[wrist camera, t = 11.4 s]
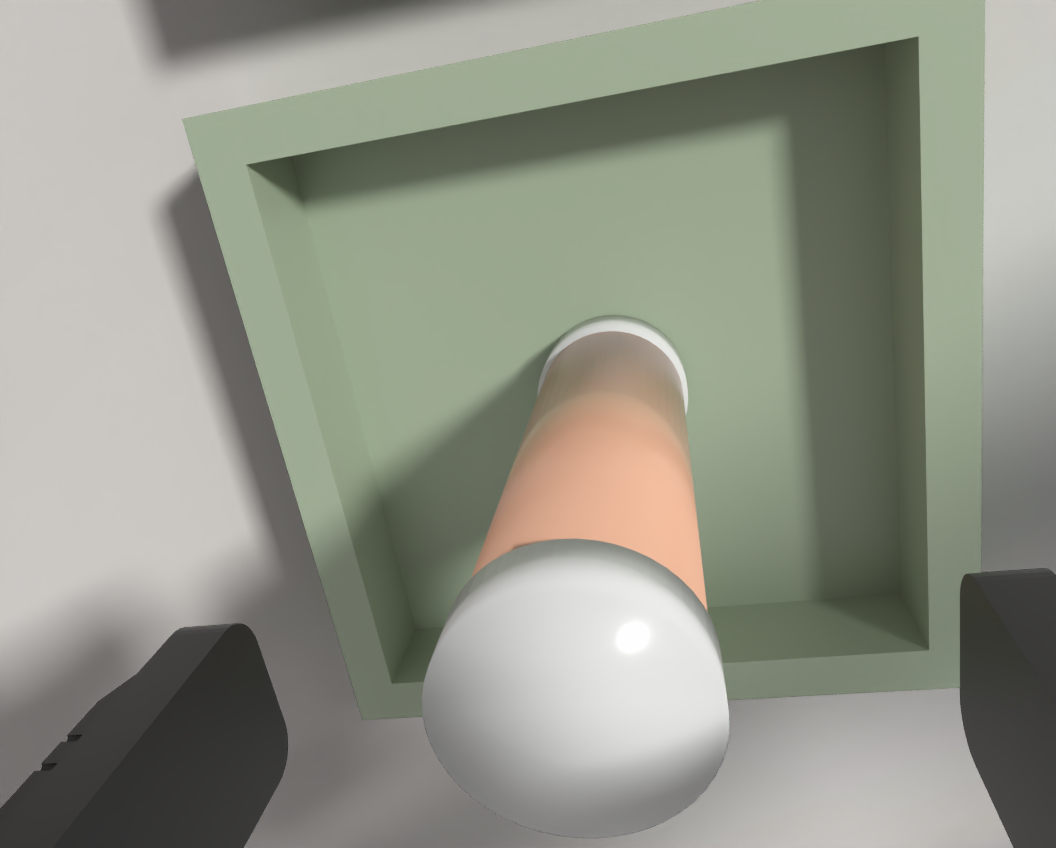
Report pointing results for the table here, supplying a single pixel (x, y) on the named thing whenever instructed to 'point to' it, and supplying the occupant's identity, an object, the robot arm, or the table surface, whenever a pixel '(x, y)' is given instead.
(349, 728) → the table surface
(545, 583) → the peg
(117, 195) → the table surface
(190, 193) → the table surface
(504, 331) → the parts tray
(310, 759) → the table surface
